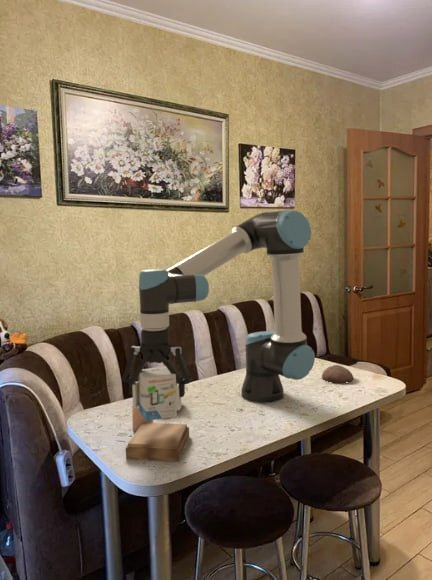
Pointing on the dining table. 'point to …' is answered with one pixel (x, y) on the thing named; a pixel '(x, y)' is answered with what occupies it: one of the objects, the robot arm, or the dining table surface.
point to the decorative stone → (337, 374)
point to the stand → (158, 442)
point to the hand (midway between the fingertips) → (157, 407)
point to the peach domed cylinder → (138, 418)
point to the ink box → (157, 393)
